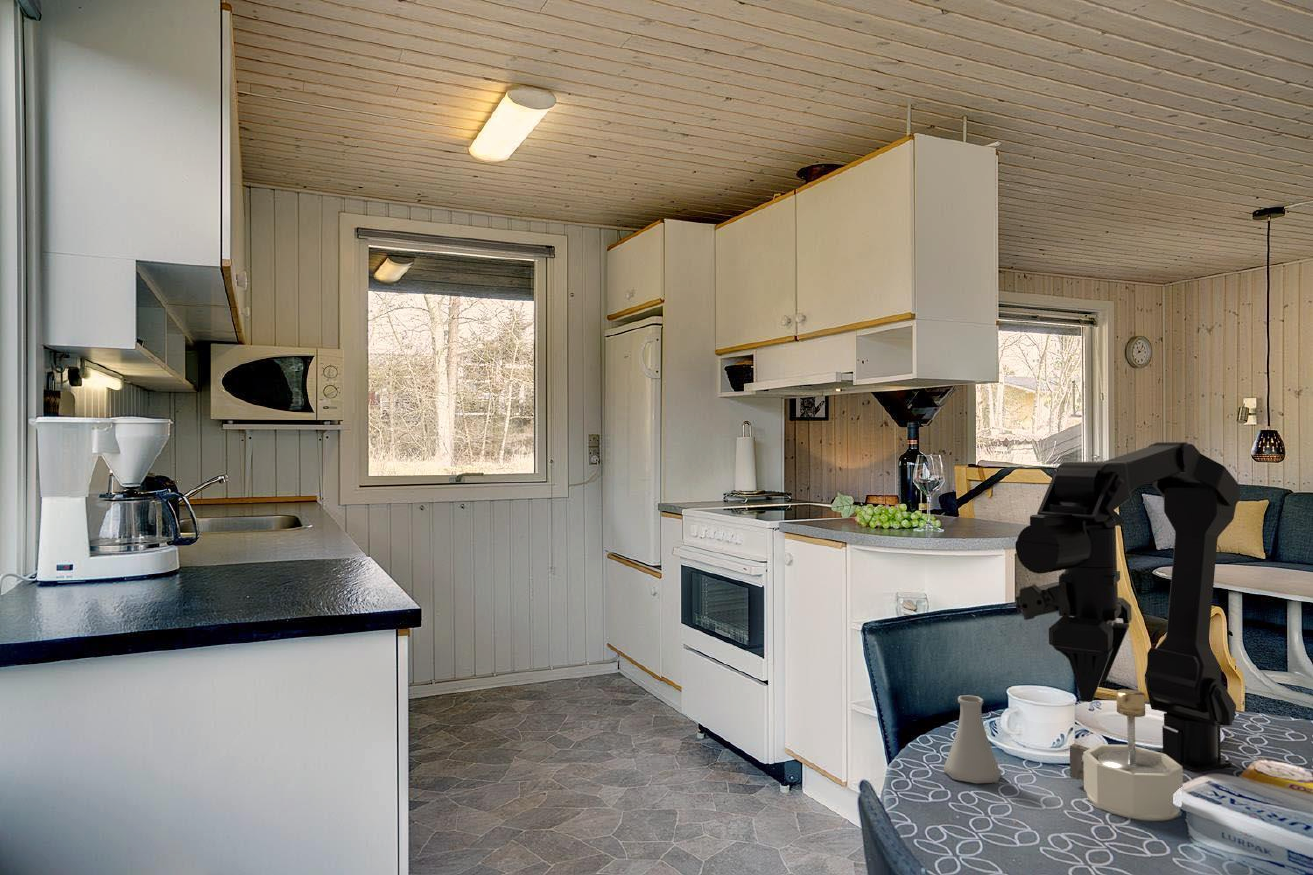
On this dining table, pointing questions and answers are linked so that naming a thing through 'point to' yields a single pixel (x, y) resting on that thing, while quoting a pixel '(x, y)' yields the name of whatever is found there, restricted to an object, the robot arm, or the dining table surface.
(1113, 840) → the dining table surface
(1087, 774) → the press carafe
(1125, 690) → the plunger
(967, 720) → the flask
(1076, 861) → the dining table surface
